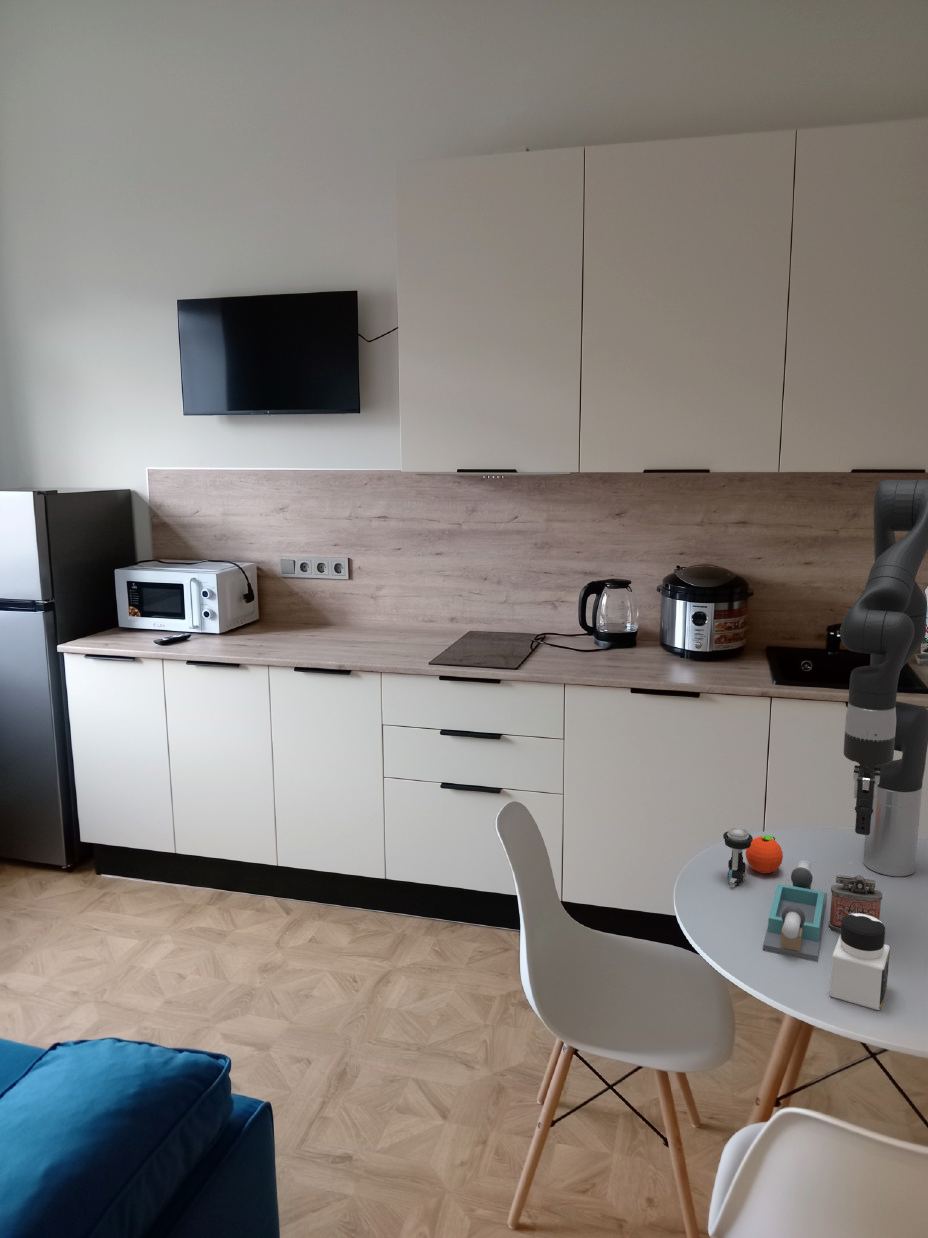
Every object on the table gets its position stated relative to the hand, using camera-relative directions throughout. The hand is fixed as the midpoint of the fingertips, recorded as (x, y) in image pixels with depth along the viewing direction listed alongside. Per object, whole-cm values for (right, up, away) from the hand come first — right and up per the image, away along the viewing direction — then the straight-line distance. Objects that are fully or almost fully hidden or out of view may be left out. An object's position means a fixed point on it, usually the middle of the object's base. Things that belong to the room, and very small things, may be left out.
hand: (863, 823), depth 150 cm
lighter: (0, -20, +4) cm, 20 cm away
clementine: (-8, -15, +26) cm, 31 cm away
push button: (-15, -16, +22) cm, 31 cm away
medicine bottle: (-6, -23, -12) cm, 27 cm away
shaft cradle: (-9, -19, +7) cm, 22 cm away
